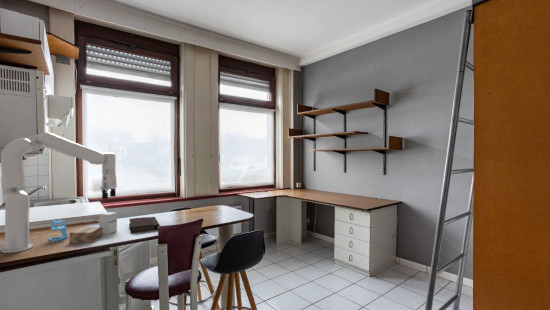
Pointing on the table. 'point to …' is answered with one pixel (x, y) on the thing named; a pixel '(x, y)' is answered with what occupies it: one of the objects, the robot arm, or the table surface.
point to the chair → (61, 228)
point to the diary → (143, 224)
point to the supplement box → (108, 222)
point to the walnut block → (85, 235)
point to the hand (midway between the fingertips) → (109, 197)
